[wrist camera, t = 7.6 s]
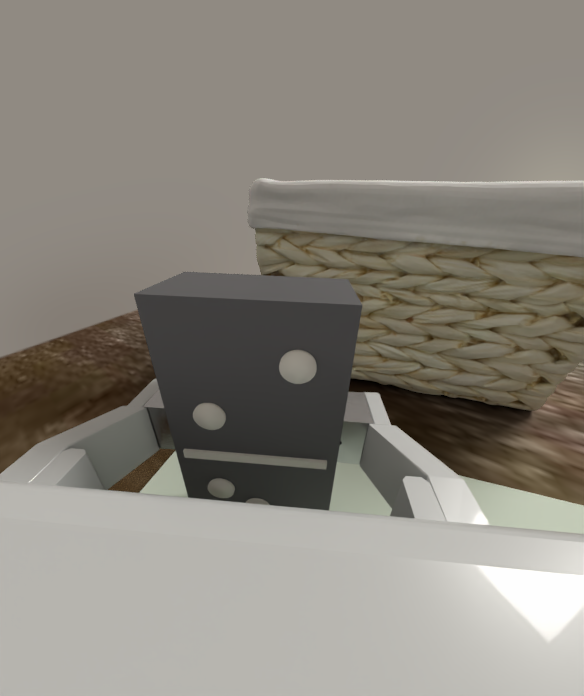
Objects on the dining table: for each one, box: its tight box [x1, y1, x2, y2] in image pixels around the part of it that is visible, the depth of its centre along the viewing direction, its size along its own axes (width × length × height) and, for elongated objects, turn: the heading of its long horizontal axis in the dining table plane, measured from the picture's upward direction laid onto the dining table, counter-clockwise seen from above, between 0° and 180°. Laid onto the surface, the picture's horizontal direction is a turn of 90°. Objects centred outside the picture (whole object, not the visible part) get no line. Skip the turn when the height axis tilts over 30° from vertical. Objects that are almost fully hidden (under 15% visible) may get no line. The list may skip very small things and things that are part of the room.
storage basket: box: [247, 178, 584, 411], centre depth 23 cm, size 24×16×15 cm
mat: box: [140, 451, 584, 534], centre depth 10 cm, size 22×12×1 cm, turn 74°
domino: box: [134, 272, 362, 510], centre depth 9 cm, size 5×3×10 cm, turn 86°
